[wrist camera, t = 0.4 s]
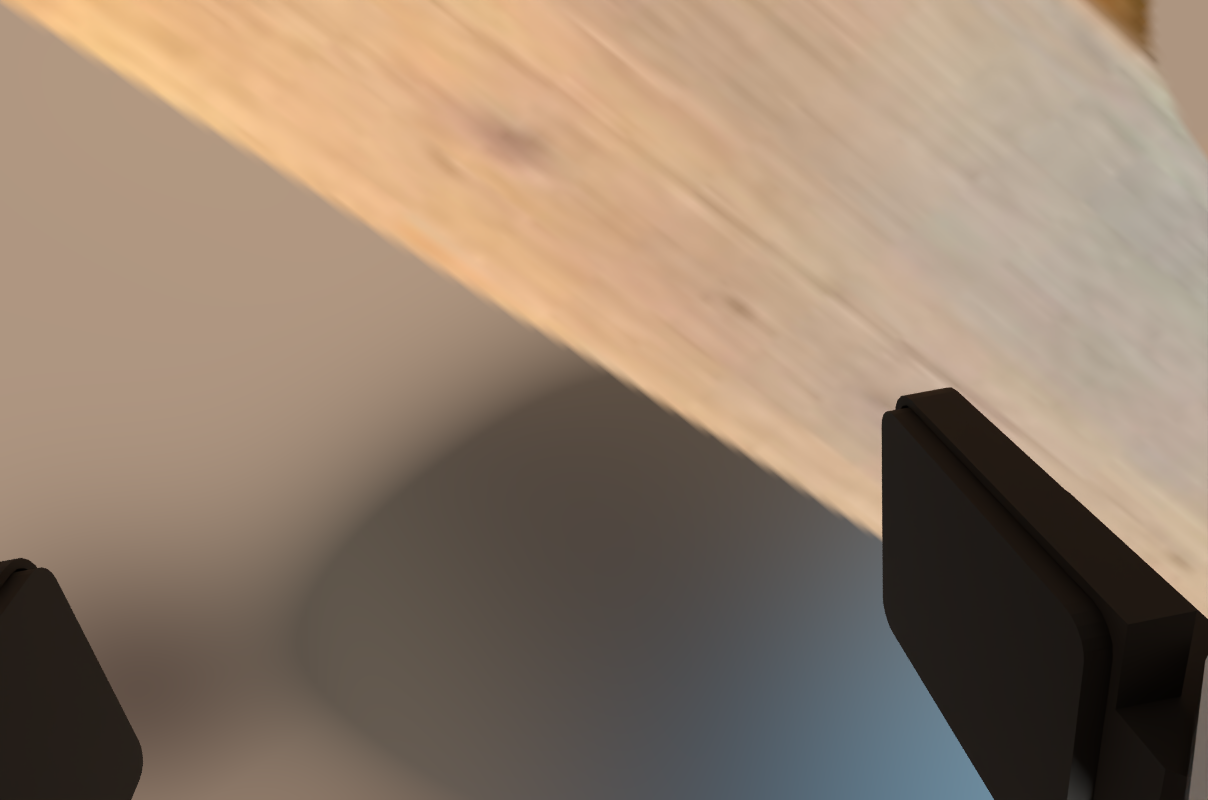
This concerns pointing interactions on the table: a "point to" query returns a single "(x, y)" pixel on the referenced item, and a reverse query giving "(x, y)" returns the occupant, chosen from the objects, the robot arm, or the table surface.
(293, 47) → the table surface
